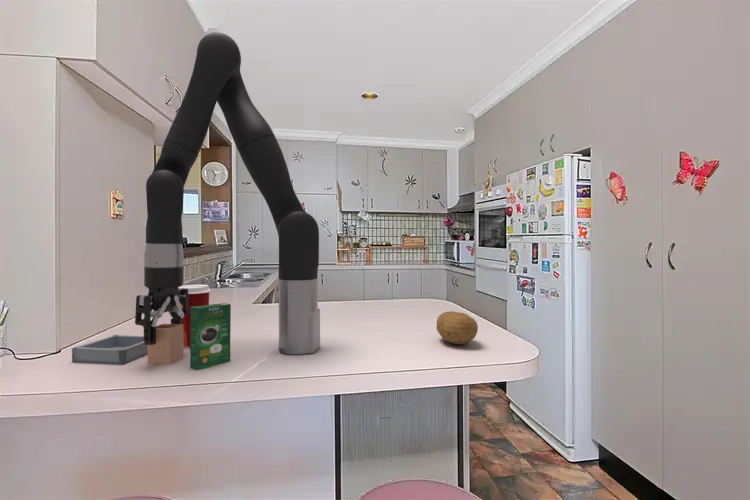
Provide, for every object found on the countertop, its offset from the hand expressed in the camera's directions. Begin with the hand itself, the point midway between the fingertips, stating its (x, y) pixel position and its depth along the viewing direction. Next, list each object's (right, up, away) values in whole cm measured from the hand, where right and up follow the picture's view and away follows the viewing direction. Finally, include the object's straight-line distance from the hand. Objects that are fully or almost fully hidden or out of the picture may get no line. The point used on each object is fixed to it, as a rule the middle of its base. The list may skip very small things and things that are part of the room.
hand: (163, 339), depth 89 cm
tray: (-12, -5, +4) cm, 14 cm away
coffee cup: (0, -5, +14) cm, 15 cm away
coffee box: (+11, -5, -2) cm, 13 cm away
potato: (+67, -5, +17) cm, 69 cm away
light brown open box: (+1, -5, 0) cm, 5 cm away
